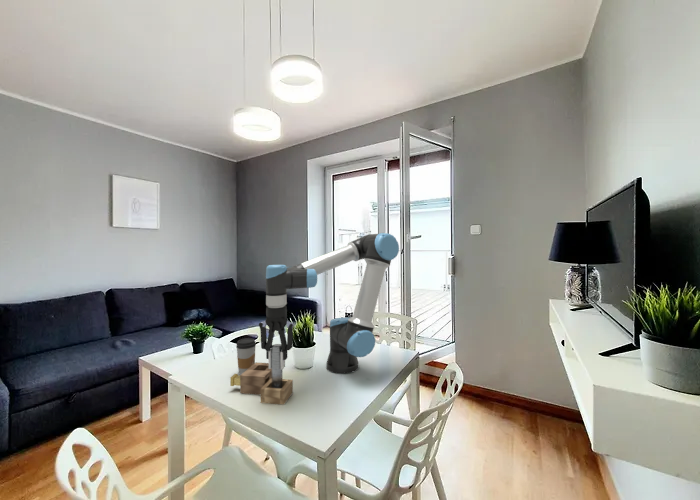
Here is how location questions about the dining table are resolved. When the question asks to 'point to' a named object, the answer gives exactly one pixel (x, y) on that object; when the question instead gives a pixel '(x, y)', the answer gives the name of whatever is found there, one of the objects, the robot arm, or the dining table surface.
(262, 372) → the socket block
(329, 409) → the dining table surface
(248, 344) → the coffee cup
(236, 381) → the drift key
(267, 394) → the block
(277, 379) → the grey metal rod
